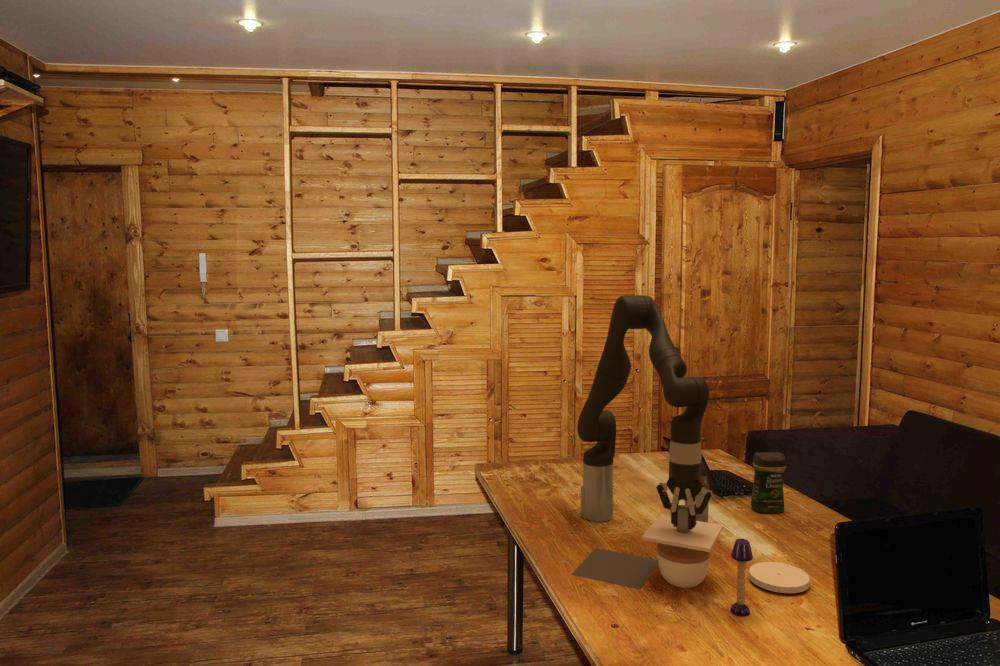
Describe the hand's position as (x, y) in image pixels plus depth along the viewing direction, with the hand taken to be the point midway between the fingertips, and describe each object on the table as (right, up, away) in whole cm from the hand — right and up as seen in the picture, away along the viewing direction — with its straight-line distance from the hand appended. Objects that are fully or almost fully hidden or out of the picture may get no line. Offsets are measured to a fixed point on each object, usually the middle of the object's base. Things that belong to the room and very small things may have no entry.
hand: (683, 526), depth 175 cm
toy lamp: (+10, -16, -12) cm, 22 cm away
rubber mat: (-15, -14, +9) cm, 22 cm away
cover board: (0, -2, 0) cm, 2 cm away
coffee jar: (+39, -9, +51) cm, 65 cm away
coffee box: (+12, -11, +32) cm, 36 cm away
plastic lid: (+24, -15, +1) cm, 28 cm away
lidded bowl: (0, -15, +2) cm, 15 cm away
